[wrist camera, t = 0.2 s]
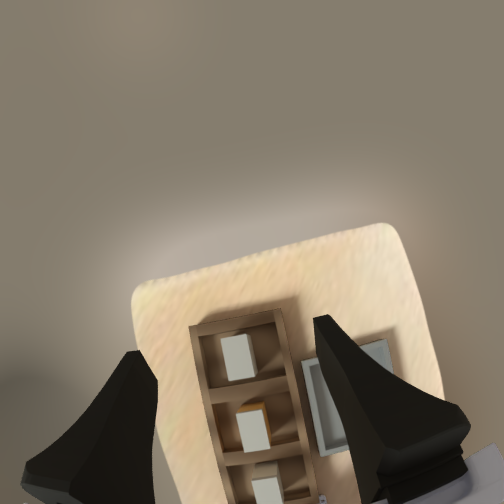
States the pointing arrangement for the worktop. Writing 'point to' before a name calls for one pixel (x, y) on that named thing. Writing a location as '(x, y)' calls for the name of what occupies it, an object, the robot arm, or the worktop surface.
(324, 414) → the tray
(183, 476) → the worktop surface
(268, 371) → the holder
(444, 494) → the robot arm
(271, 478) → the block
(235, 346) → the block
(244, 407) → the grey and orange block
